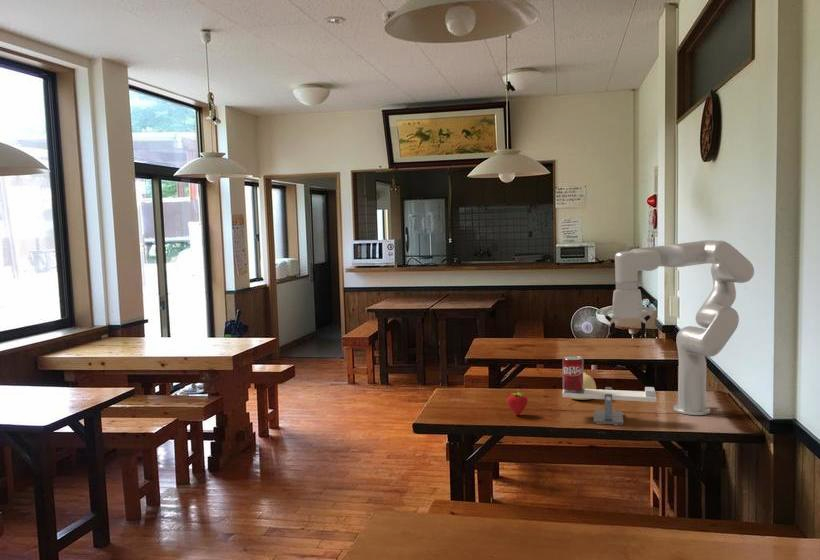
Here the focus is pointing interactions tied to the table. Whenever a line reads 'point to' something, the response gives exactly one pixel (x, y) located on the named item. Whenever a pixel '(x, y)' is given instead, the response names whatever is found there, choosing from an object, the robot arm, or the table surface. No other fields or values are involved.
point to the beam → (615, 394)
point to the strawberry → (517, 402)
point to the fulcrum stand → (608, 412)
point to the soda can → (573, 373)
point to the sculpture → (587, 384)
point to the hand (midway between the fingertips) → (628, 333)
